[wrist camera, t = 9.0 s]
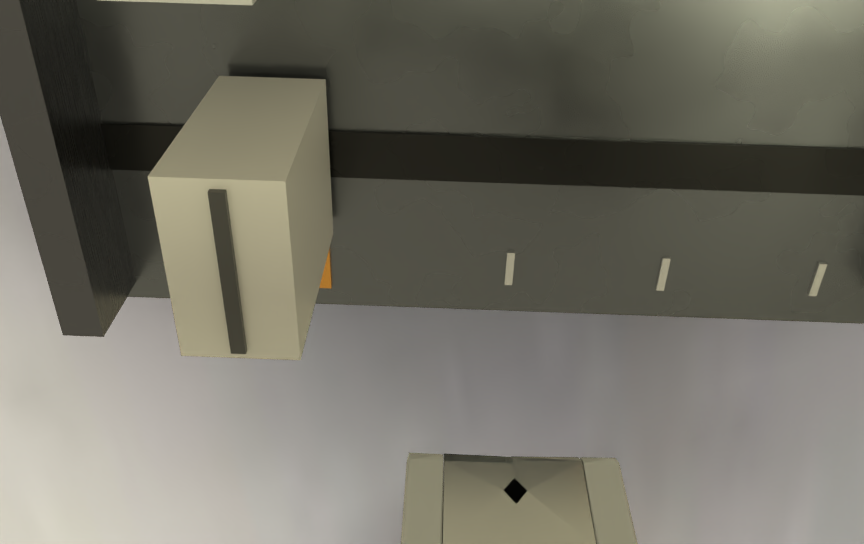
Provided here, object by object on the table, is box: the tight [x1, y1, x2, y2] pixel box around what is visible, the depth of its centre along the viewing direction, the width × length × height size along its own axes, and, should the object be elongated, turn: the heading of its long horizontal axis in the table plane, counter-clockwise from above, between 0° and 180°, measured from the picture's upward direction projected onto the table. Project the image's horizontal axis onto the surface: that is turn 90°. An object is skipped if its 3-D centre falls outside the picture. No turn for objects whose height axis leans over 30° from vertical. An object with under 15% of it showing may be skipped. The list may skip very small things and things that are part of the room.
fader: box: [148, 76, 333, 360], centre depth 17 cm, size 2×4×5 cm, turn 178°
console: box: [0, 0, 864, 337], centre depth 18 cm, size 24×16×4 cm, turn 89°
